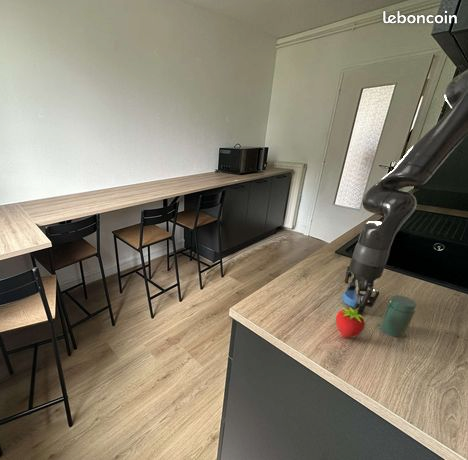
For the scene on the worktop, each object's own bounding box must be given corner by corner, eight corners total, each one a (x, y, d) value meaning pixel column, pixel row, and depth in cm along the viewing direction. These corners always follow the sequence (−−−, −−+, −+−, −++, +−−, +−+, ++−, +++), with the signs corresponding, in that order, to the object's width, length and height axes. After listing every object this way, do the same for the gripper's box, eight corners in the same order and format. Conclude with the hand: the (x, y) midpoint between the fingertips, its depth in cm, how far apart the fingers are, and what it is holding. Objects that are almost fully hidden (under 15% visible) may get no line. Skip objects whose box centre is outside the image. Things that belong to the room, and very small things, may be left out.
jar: (392, 323, 70) (404, 294, 66) (409, 337, 66) (423, 306, 62) (374, 324, 70) (385, 295, 66) (390, 338, 65) (403, 307, 62)
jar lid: (364, 299, 78) (366, 293, 77) (366, 311, 73) (369, 305, 72) (341, 293, 81) (343, 287, 80) (342, 304, 76) (344, 298, 75)
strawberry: (357, 331, 68) (367, 301, 64) (359, 351, 62) (371, 320, 58) (331, 324, 71) (339, 294, 67) (331, 342, 65) (340, 311, 61)
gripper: (343, 246, 78) (331, 290, 85) (366, 270, 65) (349, 320, 72) (371, 248, 76) (356, 292, 83) (400, 273, 64) (379, 324, 70)
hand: (353, 305), depth 77 cm, fingers closed on jar lid, 6 cm apart
